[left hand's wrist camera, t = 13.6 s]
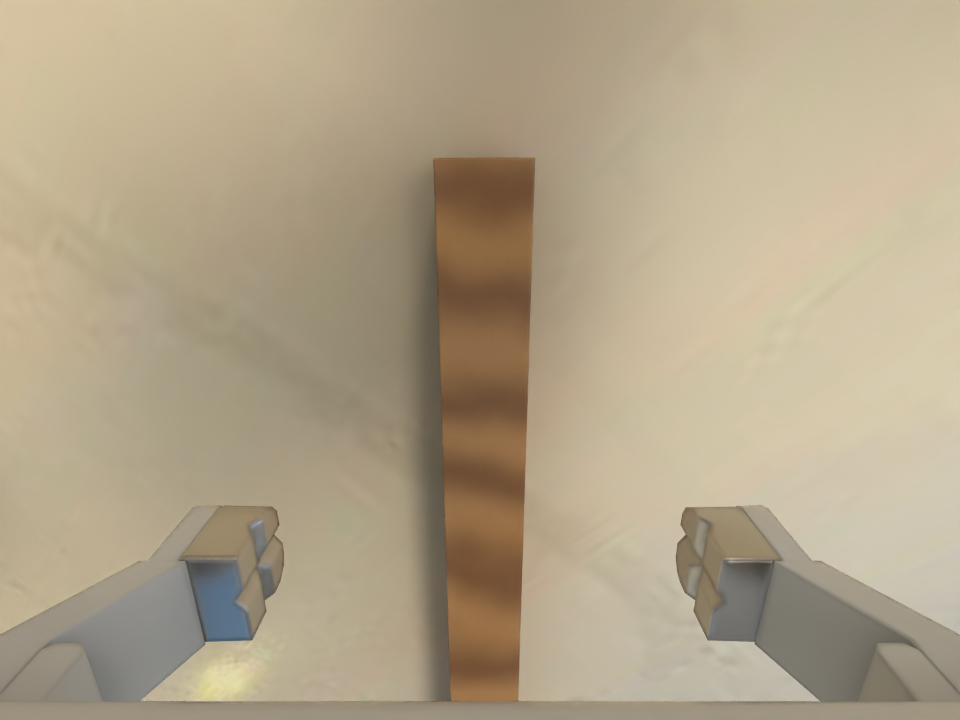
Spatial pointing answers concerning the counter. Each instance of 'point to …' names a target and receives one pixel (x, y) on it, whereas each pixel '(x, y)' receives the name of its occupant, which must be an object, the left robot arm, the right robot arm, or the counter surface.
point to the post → (484, 411)
